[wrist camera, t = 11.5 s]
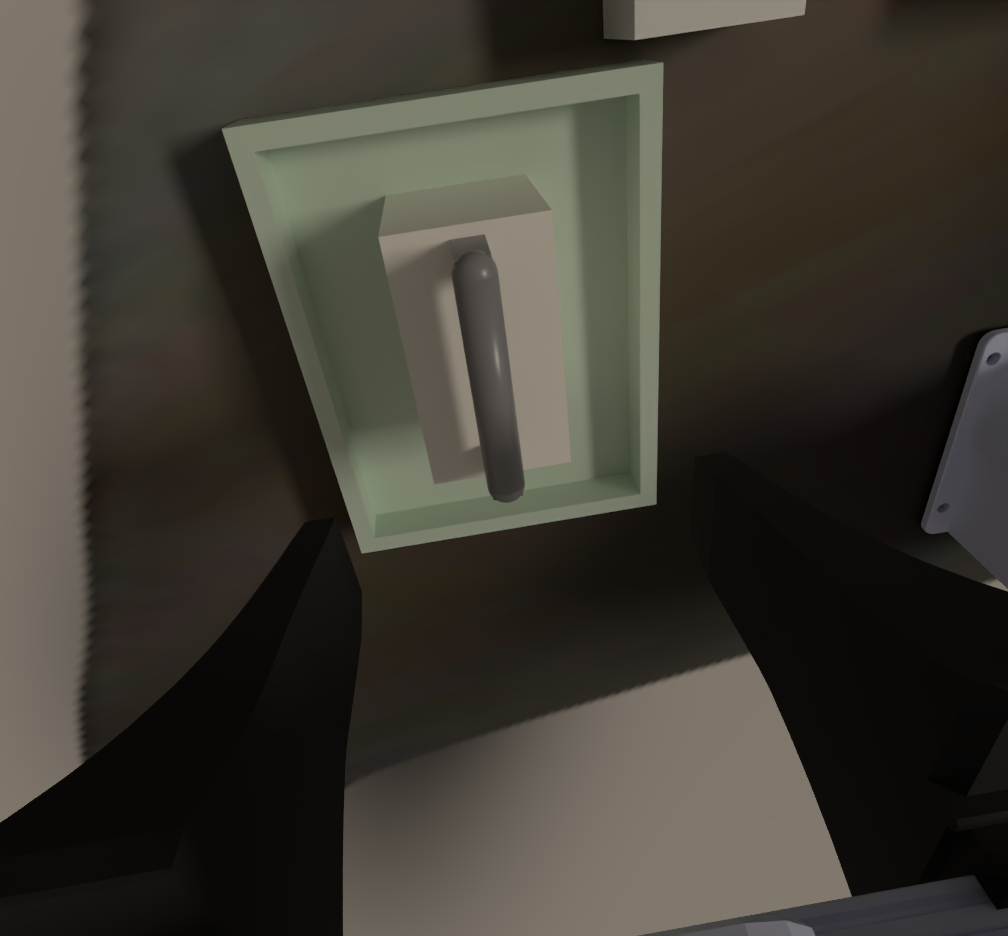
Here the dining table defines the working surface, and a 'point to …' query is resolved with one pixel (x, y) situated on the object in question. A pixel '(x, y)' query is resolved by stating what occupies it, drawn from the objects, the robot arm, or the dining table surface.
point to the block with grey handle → (480, 327)
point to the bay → (688, 15)
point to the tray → (369, 306)
